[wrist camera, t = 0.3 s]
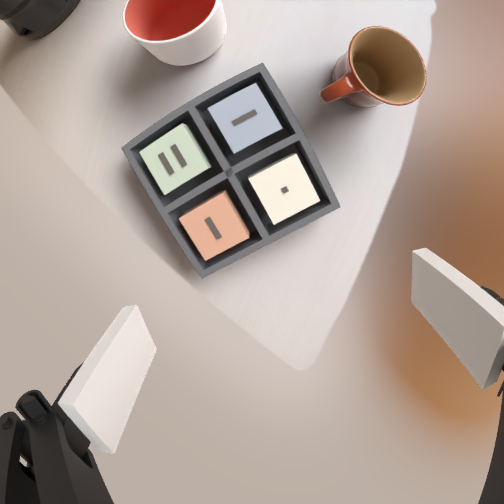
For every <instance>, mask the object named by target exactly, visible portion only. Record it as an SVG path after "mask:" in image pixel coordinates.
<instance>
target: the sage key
mask: <svg viewBox="0 0 504 504" xmlns="http://www.w3.org/2000/svg"><path fill="white" fill-rule="evenodd" d="M139 153H140V154H141V156H142V158H143V160H144V161H145V163H146V165H147V166H148V168H149V170H150V172H151V173H152V175H153V177H154V178H155V180H156V182H157V183H158V185H159V187H160V188H161V190H162V192H163V193H164V195H166V194H168V193H169V192H171V191H173V190H174V189H176V188H178V187H179V186H181V185H182V184H184V183H186V182H187V181H189V180H191V179H192V178H194V177H195V176H197V175H199V174H201V173H202V172H204V171H206V170H207V169H209V168H211V167H212V166H213V165H212V164H211V162H210V160H209V158H208V157H207V155H206V153H205V152H204V150H203V148H202V146H201V145H200V143H199V141H198V140H197V138H196V136H195V135H194V133H193V131H192V129H191V128H190V126H189V125H186V124H183V123H182V124H181V125H179V126H177V127H176V128H174V129H173V130H171V131H170V132H168V133H167V134H165V135H163V136H162V137H160V138H159V139H158V140H156V141H155V142H153V143H152V144H150V145H149V146H147V147H146V148H144V149H143V150H142V151H140V152H139Z"/></svg>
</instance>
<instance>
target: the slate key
mask: <svg viewBox="0 0 504 504" xmlns="http://www.w3.org/2000/svg"><path fill="white" fill-rule="evenodd" d="M207 109H208V110H209V112H210V114H211V115H212V117H213V119H214V120H215V122H216V124H217V125H218V127H219V129H220V131H221V132H222V134H223V136H224V137H225V139H226V141H227V143H228V144H229V146H230V148H231V149H232V151H233V153H234V154H235V153H237V152H239V151H241V150H243V149H245V148H246V147H248V146H250V145H252V144H254V143H256V142H258V141H260V140H262V139H263V138H265V137H267V136H269V135H271V134H273V133H275V132H277V131H279V130H281V129H282V127H281V125H280V123H279V121H278V119H277V118H276V116H275V114H274V112H273V111H272V109H271V107H270V106H269V104H268V102H267V101H266V99H265V97H264V95H263V94H262V92H261V90H260V89H259V87H258V86H257V84H256V83H254V84H252V85H250V86H248V87H246V88H244V89H242V90H240V91H238V92H236V93H234V94H233V95H231V96H229V97H227V98H225V99H223V100H221V101H220V102H218V103H216V104H214V105H212V106H211V107H209V108H207Z"/></svg>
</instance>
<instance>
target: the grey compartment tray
mask: <svg viewBox="0 0 504 504" xmlns="http://www.w3.org/2000/svg"><path fill="white" fill-rule="evenodd" d="M254 83H256V84H257V86H258V87H259V89H260V90H261V92H262V94H263V95H264V97H265V99H266V101H267V102H268V104H269V106H270V107H271V109H272V111H273V112H274V114H275V116H276V118H277V119H278V121H279V123H280V125H281V127H282V129H281V130H279V131H277V132H275V133H273V134H271V135H269V136H267V137H265V138H263V139H262V140H260V141H258V142H256V143H254V144H252V145H250V146H248V147H246V148H245V149H243V150H241V151H239V152H237V153H235V154H234V153H233V151H232V149H231V148H230V146H229V144H228V143H227V141H226V139H225V137H224V136H223V134H222V132H221V131H220V129H219V127H218V125H217V124H216V122H215V120H214V119H213V117H212V115H211V114H210V112H209V110H208V109H207V108H209V107H211V106H212V105H214V104H216V103H218V102H220V101H221V100H223V99H225V98H227V97H229V96H231V95H233V94H234V93H236V92H238V91H240V90H242V89H244V88H246V87H248V86H250V85H252V84H254ZM182 123H183V124H186V125H189V126H190V128H191V129H192V131H193V133H194V135H195V136H196V138H197V140H198V141H199V143H200V145H201V146H202V148H203V150H204V152H205V153H206V155H207V157H208V158H209V160H210V162H211V164H212V165H213V166H212V167H211V168H209V169H207V170H206V171H204V172H202V173H201V174H199V175H197V176H195V177H194V178H192V179H191V180H189V181H187V182H186V183H184V184H182V185H181V186H179V187H178V188H176V189H174V190H173V191H171V192H169V193H168V194H166V195H164V193H163V192H162V190H161V188H160V187H159V185H158V183H157V182H156V180H155V178H154V177H153V175H152V173H151V172H150V170H149V168H148V166H147V165H146V163H145V161H144V160H143V158H142V156H141V154H140V153H139V152H140V151H142V150H143V149H144V148H146V147H147V146H149V145H150V144H152V143H153V142H155V141H156V140H158V139H159V138H160V137H162V136H163V135H165V134H167V133H168V132H170V131H171V130H173V129H174V128H176V127H177V126H179V125H181V124H182ZM122 150H123V152H124V154H125V155H126V157H127V159H128V161H129V162H130V164H131V166H132V168H133V169H134V171H135V173H136V175H137V176H138V178H139V180H140V181H141V183H142V185H143V187H144V188H145V190H146V192H147V193H148V195H149V197H150V198H151V200H152V202H153V203H154V205H155V207H156V208H157V210H158V211H159V213H160V215H161V216H162V218H163V220H164V221H165V223H166V224H167V226H168V228H169V229H170V231H171V232H172V234H173V236H174V237H175V239H176V240H177V242H178V243H179V245H180V247H181V248H182V250H183V251H184V253H185V254H186V256H187V257H188V259H189V260H190V262H191V263H192V265H193V266H194V268H195V270H196V271H197V273H198V274H199V276H200V277H201V279H202V278H204V277H206V276H207V275H209V274H211V273H213V272H215V271H217V270H219V269H221V268H223V267H225V266H227V265H229V264H231V263H233V262H235V261H237V260H239V259H241V258H242V257H244V256H246V255H248V254H250V253H252V252H254V251H256V250H258V249H260V248H262V247H264V246H266V245H268V244H270V243H272V242H274V241H275V240H277V239H279V238H281V237H283V236H285V235H287V234H289V233H291V232H293V231H295V230H297V229H299V228H301V227H303V226H305V225H307V224H308V223H310V222H312V221H314V220H316V219H318V218H320V217H322V216H324V215H326V214H328V213H330V212H332V211H334V210H336V209H338V208H340V205H339V202H338V200H337V198H336V196H335V194H334V192H333V189H332V187H331V185H330V183H329V181H328V179H327V177H326V175H325V173H324V171H323V169H322V167H321V165H320V163H319V161H318V159H317V157H316V155H315V153H314V151H313V149H312V147H311V145H310V143H309V141H308V139H307V137H306V136H305V134H304V132H303V130H302V128H301V126H300V125H299V123H298V121H297V119H296V117H295V115H294V114H293V112H292V110H291V108H290V107H289V105H288V103H287V101H286V100H285V98H284V96H283V95H282V93H281V91H280V90H279V88H278V86H277V85H276V83H275V81H274V80H273V78H272V76H271V75H270V73H269V72H268V70H267V69H266V67H265V65H264V64H263V63H261V64H259V65H257V66H255V67H253V68H250V69H248V70H246V71H244V72H242V73H240V74H238V75H236V76H234V77H232V78H230V79H229V80H227V81H225V82H223V83H221V84H219V85H217V86H215V87H214V88H212V89H210V90H208V91H206V92H205V93H203V94H201V95H199V96H198V97H196V98H194V99H193V100H191V101H189V102H188V103H186V104H184V105H183V106H181V107H180V108H178V109H176V110H175V111H173V112H172V113H170V114H169V115H167V116H165V117H164V118H162V119H161V120H159V121H158V122H156V123H155V124H154V125H152V126H151V127H149V128H148V129H146V130H145V131H143V132H142V133H141V134H139V135H138V136H136V137H135V138H134V139H132V140H131V141H130V142H128V143H127V144H126V145H124V146H123V147H122ZM291 153H294V154H297V156H298V158H299V160H300V162H301V164H302V165H303V167H304V169H305V171H306V173H307V175H308V177H309V179H310V181H311V183H312V185H313V187H314V189H315V191H316V193H317V195H318V197H319V199H320V201H319V202H317V203H315V204H313V205H311V206H309V207H307V208H305V209H303V210H302V211H300V212H298V213H296V214H294V215H292V216H290V217H288V218H286V219H284V220H282V221H280V222H278V223H276V224H273V222H272V221H271V219H270V217H269V215H268V213H267V211H266V210H265V208H264V206H263V204H262V202H261V201H260V199H259V197H258V195H257V193H256V192H255V190H254V188H253V186H252V185H251V183H250V181H249V179H248V177H249V175H251V174H253V173H255V172H257V171H259V170H260V169H262V168H264V167H266V166H268V165H270V164H272V163H274V162H276V161H278V160H280V159H282V158H284V157H285V156H287V155H289V154H291ZM224 189H227V191H228V193H229V195H230V196H231V198H232V200H233V201H234V203H235V205H236V207H237V208H238V210H239V212H240V214H241V215H242V217H243V219H244V220H245V222H246V224H247V226H248V227H249V238H248V239H246V240H244V241H242V242H240V243H238V244H236V245H234V246H233V247H231V248H229V249H227V250H225V251H223V252H221V253H219V254H217V255H216V256H214V257H212V258H210V259H208V260H206V261H205V260H204V258H203V256H202V255H201V253H200V252H199V250H198V249H197V247H196V245H195V244H194V242H193V241H192V239H191V237H190V236H189V234H188V233H187V231H186V229H185V228H184V226H183V225H182V223H181V221H180V220H179V218H180V217H181V216H182V215H183V214H184V213H185V212H186V211H188V210H189V209H191V208H193V207H194V206H196V205H198V204H200V203H201V202H203V201H205V200H206V199H208V198H210V197H212V196H213V195H215V194H217V193H219V192H220V191H222V190H224Z"/></svg>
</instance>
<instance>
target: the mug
mask: <svg viewBox="0 0 504 504" xmlns="http://www.w3.org/2000/svg"><path fill="white" fill-rule="evenodd" d="M425 84H426V69H425V65H424V62H423V60H422V57H421V55H420V54H419V52H418V50H417V49H416V48H415V46H414V45H413V44H412V43H411V42H410V41H409V40H408V39H407V38H406V37H404V36H403V35H402V34H400V33H398V32H396V31H394V30H392V29H389V28H386V27H380V26H372V27H367V28H364V29H362V30H360V31H359V32H358V33H356V35H355V36H354V37H353V38H352V40H351V42H350V45H349V49H348V52H346V53H345V54H344V55H343V56H341V57H340V58H339V59H338V61H337V62H336V64H335V67H334V69H333V70H332V84H330V85H328V86H327V87H325V88H323V89H322V90H321V91H320V92H319V94H318V96H319V98H320V99H321V101H322V102H323V103H324V104H329V103H331V102H333V101H335V100H337V99H343V100H344V101H345V102H347V103H349V104H351V105H354V106H358V107H366V108H369V107H375V106H378V105H380V104H383V103H386V104H390V105H397V106H400V105H407V104H410V103H412V102H414V101H415V100H416V99H418V98H419V97H420V95H421V94H422V92H423V90H424V88H425Z"/></svg>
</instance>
